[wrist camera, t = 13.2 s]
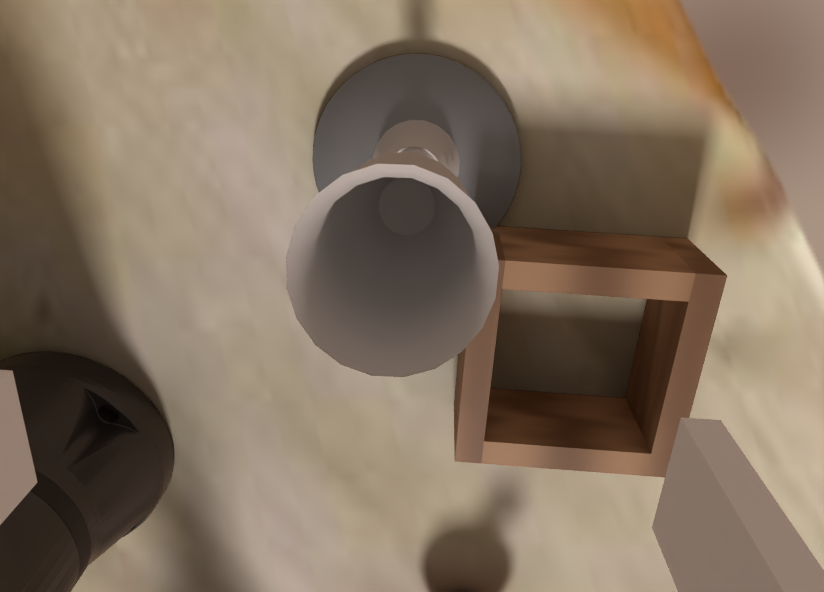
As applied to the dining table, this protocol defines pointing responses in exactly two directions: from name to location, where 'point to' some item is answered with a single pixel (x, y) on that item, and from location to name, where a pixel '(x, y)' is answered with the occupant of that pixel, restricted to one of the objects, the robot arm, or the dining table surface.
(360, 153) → the coaster
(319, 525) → the dining table surface
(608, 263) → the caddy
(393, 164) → the chalice
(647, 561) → the dining table surface
